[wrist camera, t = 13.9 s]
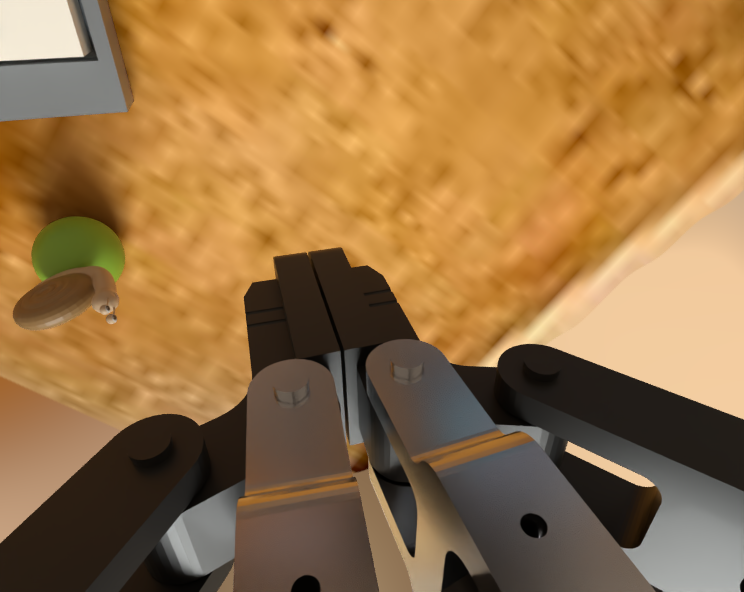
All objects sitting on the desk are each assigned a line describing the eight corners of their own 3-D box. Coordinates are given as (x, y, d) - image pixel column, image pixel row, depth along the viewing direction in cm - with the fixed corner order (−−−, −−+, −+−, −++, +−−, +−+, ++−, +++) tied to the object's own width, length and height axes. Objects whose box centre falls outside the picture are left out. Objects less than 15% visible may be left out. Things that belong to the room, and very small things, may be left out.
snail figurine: (156, 253, 38) (138, 351, 28) (72, 282, 37) (24, 391, 28) (118, 188, 35) (84, 274, 25) (26, 218, 34) (-46, 317, 25)
